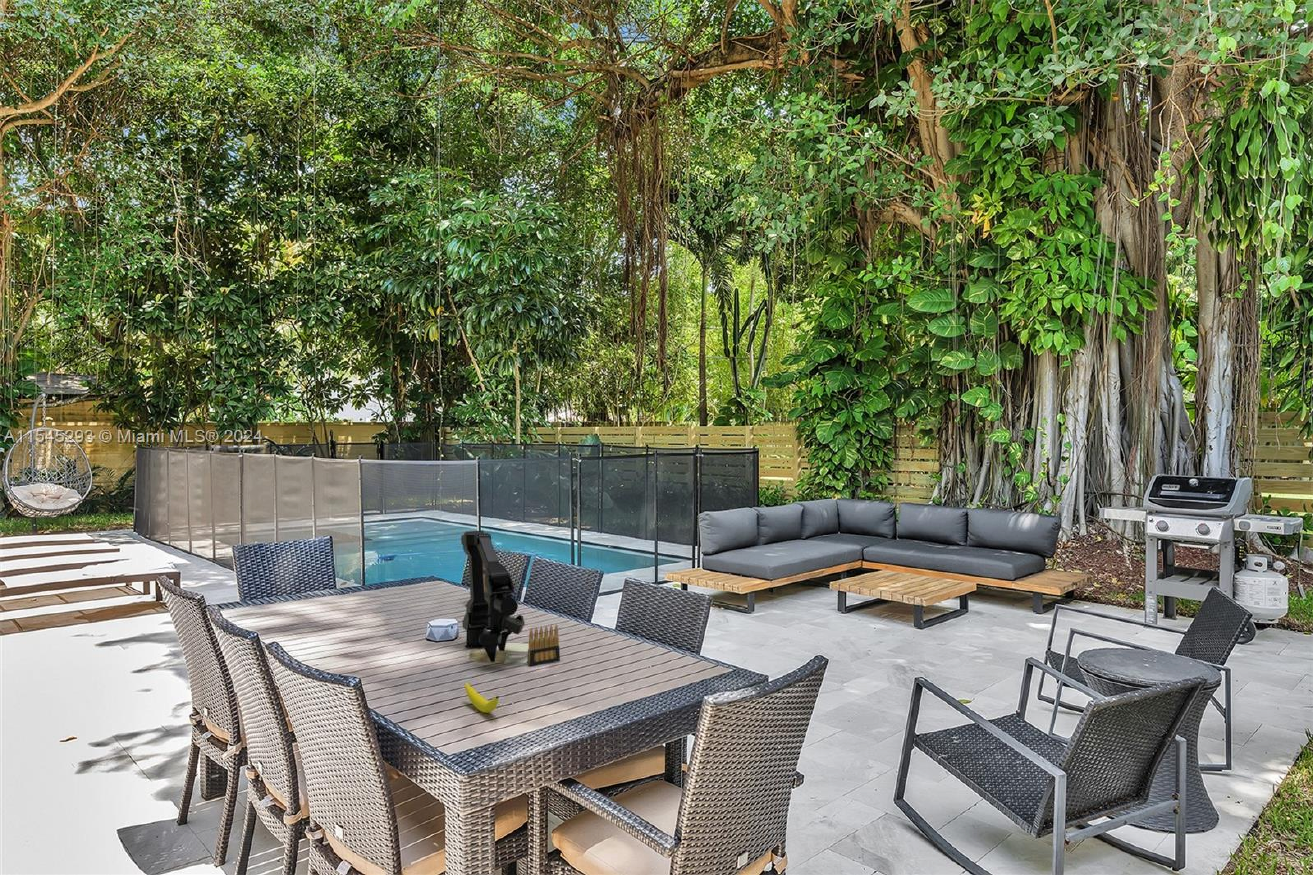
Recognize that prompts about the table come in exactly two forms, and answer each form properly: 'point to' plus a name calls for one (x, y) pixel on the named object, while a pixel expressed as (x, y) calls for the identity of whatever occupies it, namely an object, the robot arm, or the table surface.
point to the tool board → (516, 648)
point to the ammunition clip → (543, 647)
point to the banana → (480, 700)
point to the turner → (498, 657)
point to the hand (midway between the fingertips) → (497, 657)
